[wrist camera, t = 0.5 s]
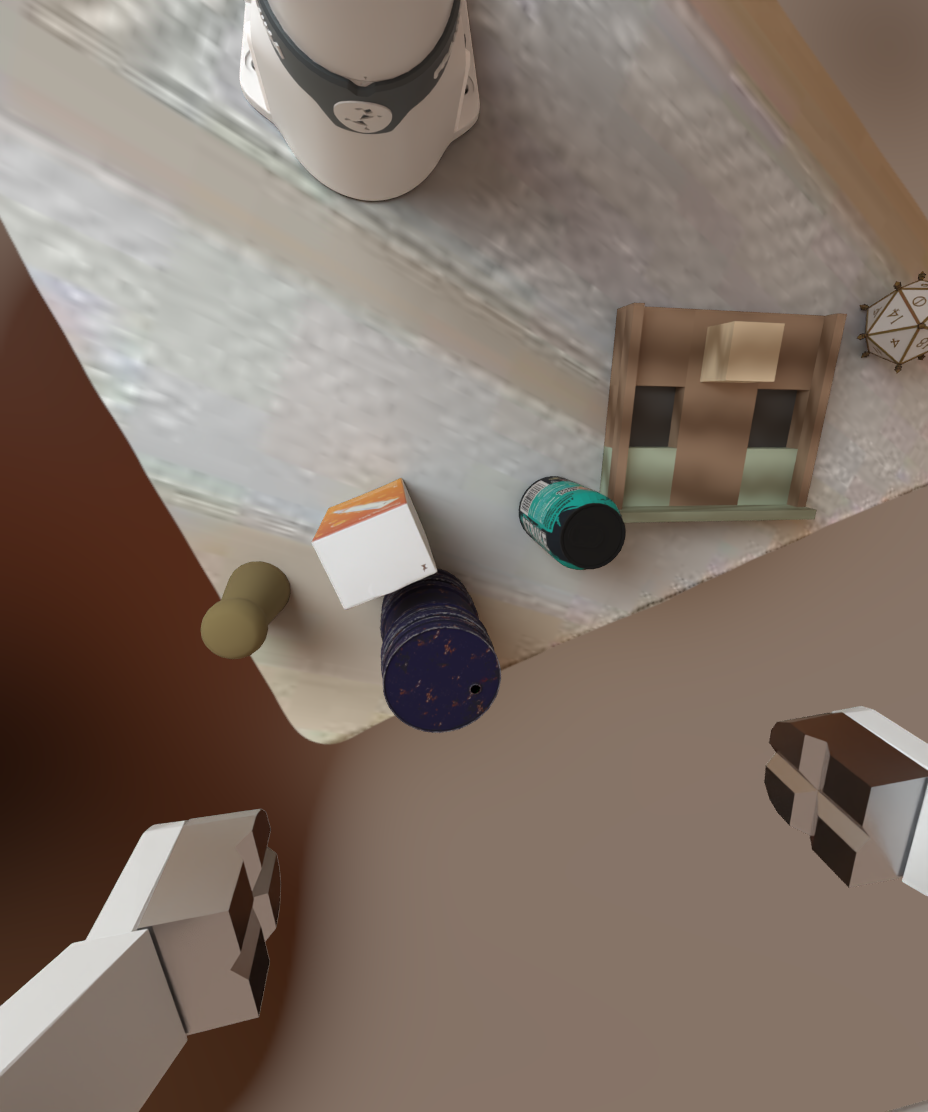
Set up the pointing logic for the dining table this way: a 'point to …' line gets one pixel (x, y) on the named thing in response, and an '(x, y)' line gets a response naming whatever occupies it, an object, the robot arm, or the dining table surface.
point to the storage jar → (436, 655)
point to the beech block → (742, 352)
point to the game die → (899, 324)
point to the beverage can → (572, 522)
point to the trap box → (713, 419)
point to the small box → (373, 545)
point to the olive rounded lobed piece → (245, 610)
